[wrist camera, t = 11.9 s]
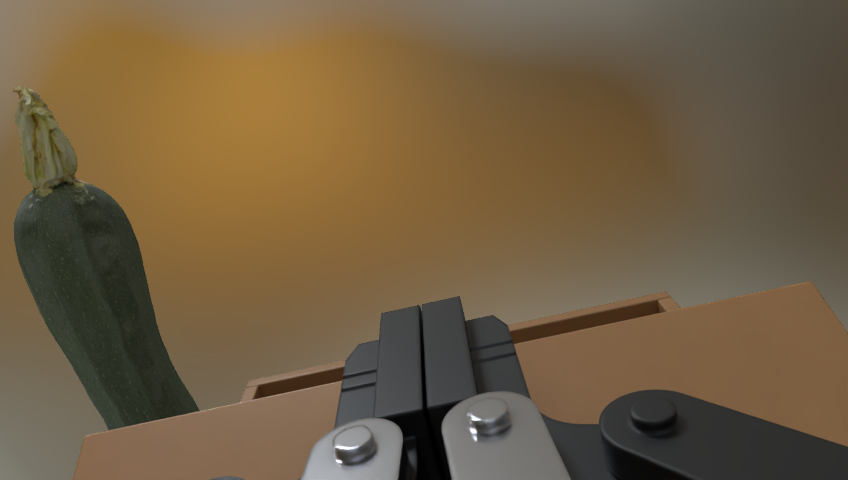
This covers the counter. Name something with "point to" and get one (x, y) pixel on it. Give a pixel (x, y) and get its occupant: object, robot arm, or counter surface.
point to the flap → (540, 388)
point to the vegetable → (90, 280)
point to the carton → (518, 331)
